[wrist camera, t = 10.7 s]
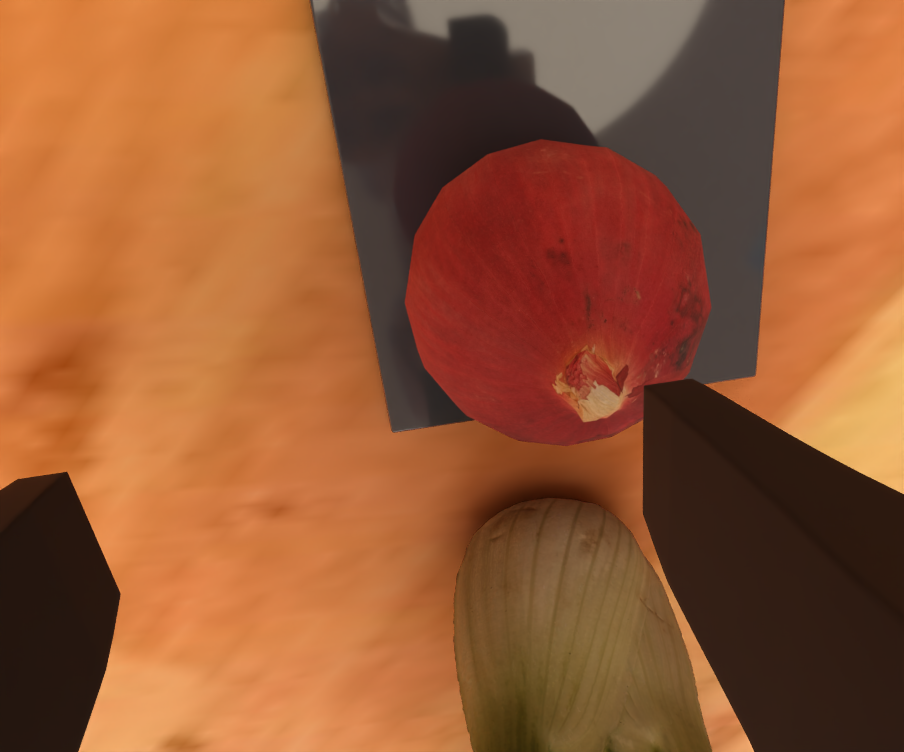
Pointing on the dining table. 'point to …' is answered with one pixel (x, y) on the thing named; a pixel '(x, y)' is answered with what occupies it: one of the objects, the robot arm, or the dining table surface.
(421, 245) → the onion
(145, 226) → the dining table surface
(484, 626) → the fennel bulb
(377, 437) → the dining table surface
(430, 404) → the slate board
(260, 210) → the dining table surface
